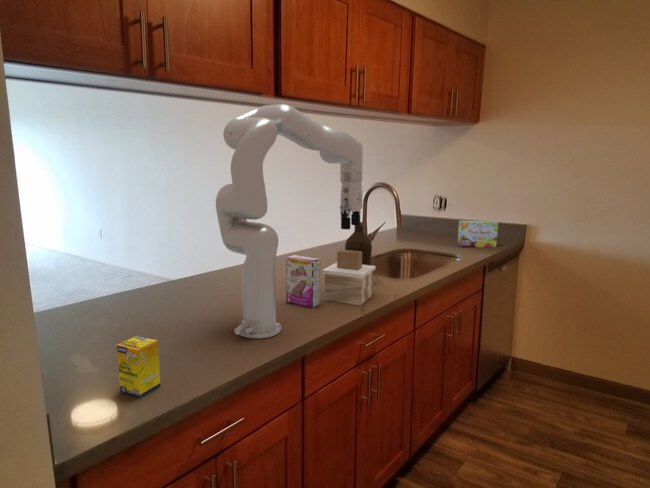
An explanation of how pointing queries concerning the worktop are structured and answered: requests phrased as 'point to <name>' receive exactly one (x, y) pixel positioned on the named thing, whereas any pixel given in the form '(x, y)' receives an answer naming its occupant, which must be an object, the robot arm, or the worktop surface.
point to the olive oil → (360, 244)
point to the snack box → (477, 233)
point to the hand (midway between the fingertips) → (350, 227)
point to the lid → (349, 265)
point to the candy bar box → (303, 281)
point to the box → (348, 289)
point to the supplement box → (138, 366)
